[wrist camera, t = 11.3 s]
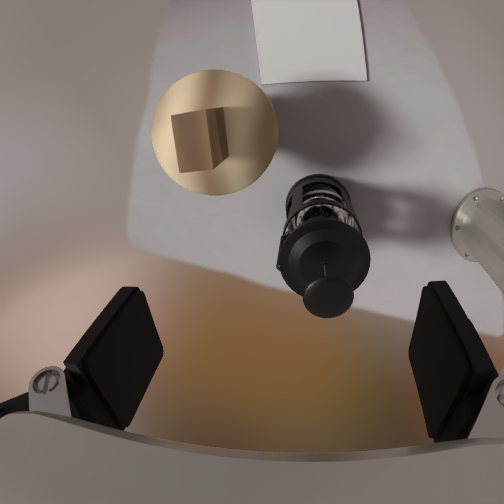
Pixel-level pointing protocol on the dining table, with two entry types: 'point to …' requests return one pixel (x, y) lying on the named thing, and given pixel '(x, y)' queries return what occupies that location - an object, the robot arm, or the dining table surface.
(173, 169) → the lid
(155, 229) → the dining table surface
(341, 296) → the french press
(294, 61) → the mat
